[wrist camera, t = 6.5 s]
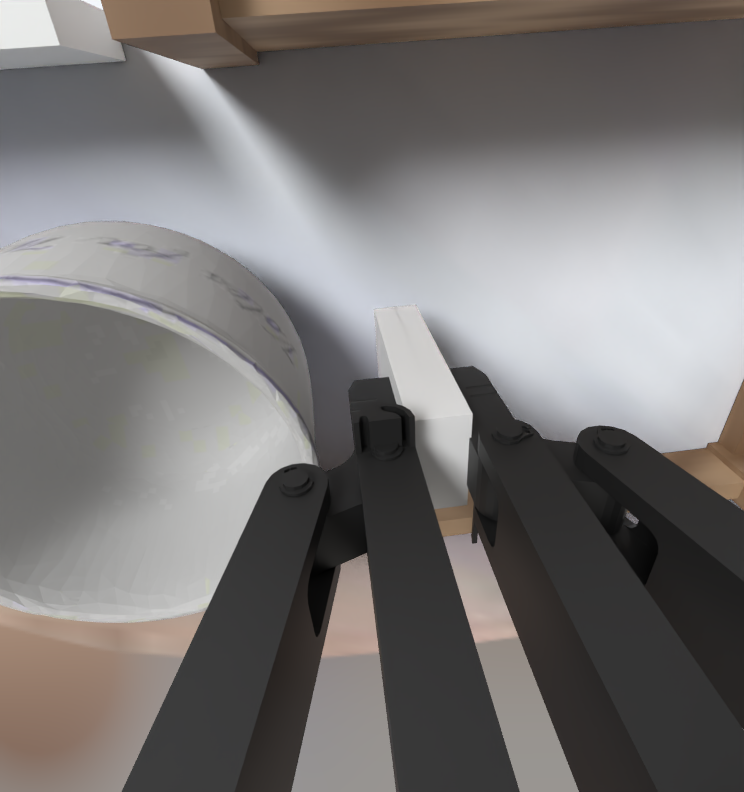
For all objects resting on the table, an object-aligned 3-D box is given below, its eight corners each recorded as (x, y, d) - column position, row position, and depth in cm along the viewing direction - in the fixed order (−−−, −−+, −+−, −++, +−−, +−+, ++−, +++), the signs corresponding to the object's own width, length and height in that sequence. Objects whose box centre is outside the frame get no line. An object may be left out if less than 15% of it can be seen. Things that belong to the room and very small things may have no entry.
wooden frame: (957, -53, 14) (1453, -174, 8) (728, 464, 24) (863, 581, 18) (186, -5, 12) (70, -107, 6) (297, 518, 23) (291, 662, 17)
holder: (113, 14, 12) (38, -20, 9) (254, 519, 23) (244, 591, 19) (-312, 41, 12) (-562, 16, 8) (29, 547, 22) (-23, 627, 19)
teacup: (343, 241, 16) (365, 339, 9) (294, 477, 21) (286, 649, 15) (-141, 133, 13) (-619, 163, 6) (-58, 438, 19) (-272, 630, 12)
